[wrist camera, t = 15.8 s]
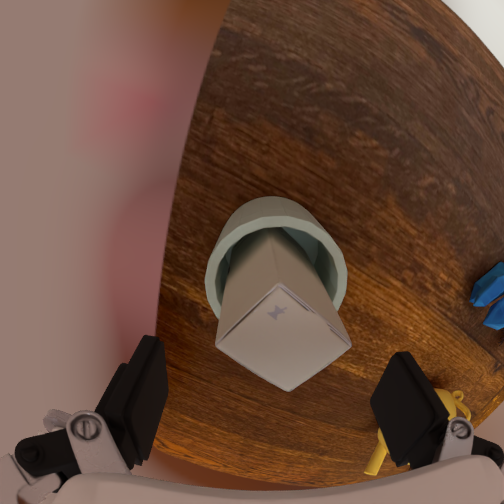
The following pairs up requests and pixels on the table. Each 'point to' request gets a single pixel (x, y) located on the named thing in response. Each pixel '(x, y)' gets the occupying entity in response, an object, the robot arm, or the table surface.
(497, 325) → the crystal
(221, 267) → the jar
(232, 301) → the box
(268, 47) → the table surface
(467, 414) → the teapot
